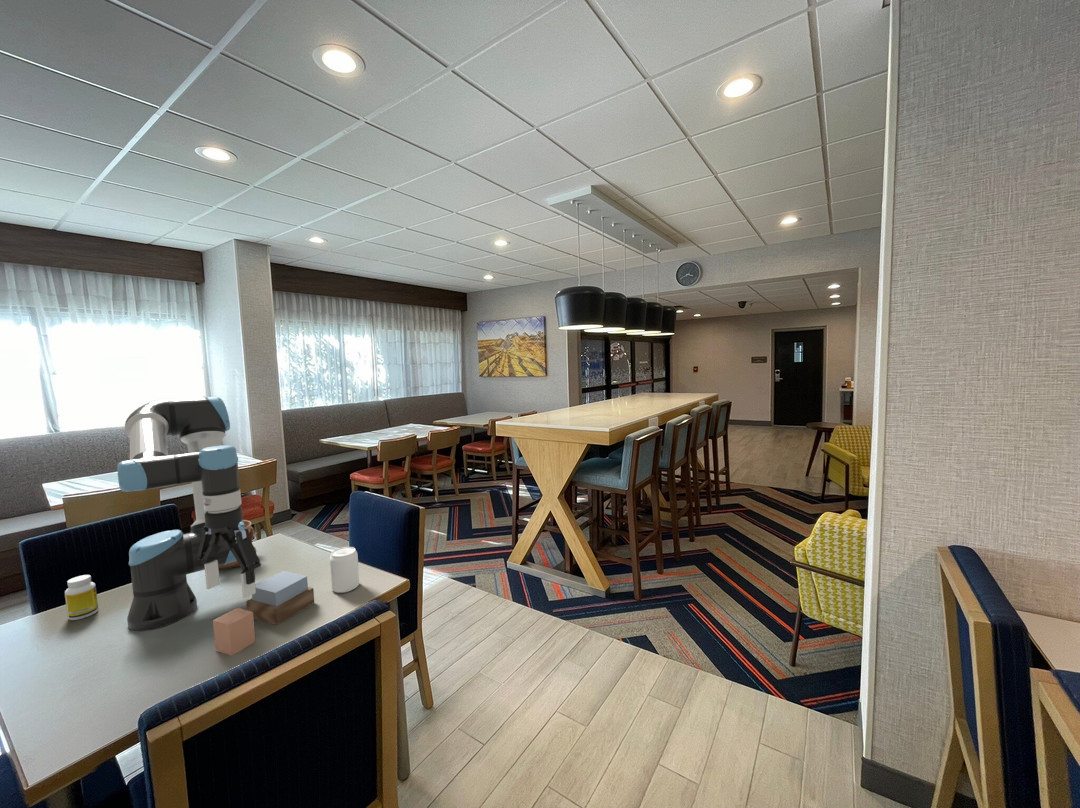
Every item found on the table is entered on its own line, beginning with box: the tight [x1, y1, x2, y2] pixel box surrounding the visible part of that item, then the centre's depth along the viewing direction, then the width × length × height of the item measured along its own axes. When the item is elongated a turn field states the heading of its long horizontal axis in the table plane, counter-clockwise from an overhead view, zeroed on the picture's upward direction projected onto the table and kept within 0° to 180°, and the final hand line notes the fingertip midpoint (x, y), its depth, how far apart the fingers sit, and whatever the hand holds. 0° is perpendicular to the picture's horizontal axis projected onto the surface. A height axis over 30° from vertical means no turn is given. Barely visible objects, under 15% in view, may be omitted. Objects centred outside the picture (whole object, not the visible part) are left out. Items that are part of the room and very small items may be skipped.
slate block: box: [251, 570, 309, 607], centre depth 127 cm, size 10×10×4 cm
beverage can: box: [329, 546, 360, 594], centre depth 139 cm, size 8×8×12 cm
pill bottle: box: [64, 574, 99, 621], centre depth 126 cm, size 6×6×11 cm
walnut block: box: [245, 586, 315, 626], centre depth 127 cm, size 12×12×5 cm
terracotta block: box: [212, 607, 256, 657], centre depth 111 cm, size 6×6×8 cm
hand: (230, 591), depth 110 cm, fingers open, 13 cm apart
